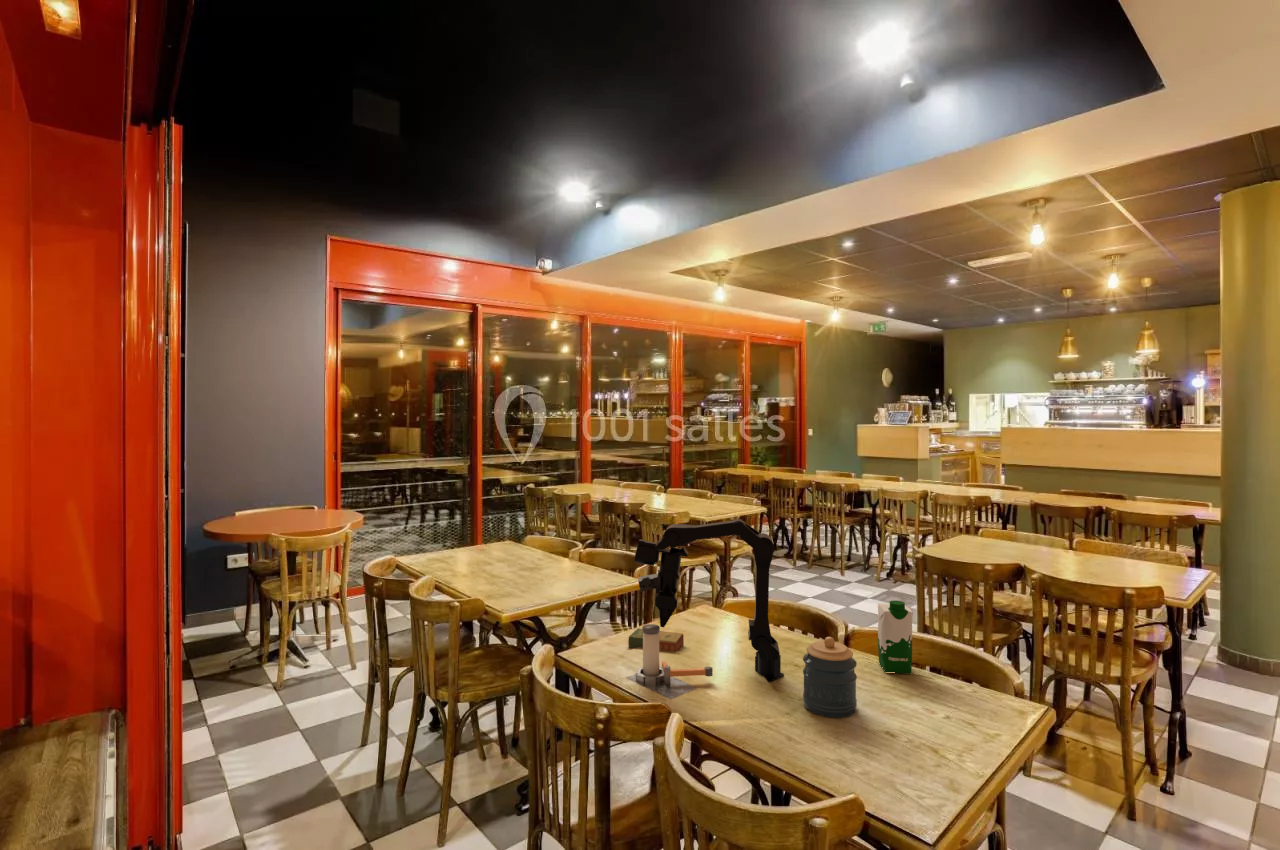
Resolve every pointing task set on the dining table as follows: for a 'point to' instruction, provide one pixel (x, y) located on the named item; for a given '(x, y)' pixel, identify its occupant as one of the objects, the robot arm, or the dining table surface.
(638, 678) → the socket plate
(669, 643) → the carton
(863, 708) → the dining table surface
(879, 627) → the milk carton
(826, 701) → the canister
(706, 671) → the clip
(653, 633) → the plug
